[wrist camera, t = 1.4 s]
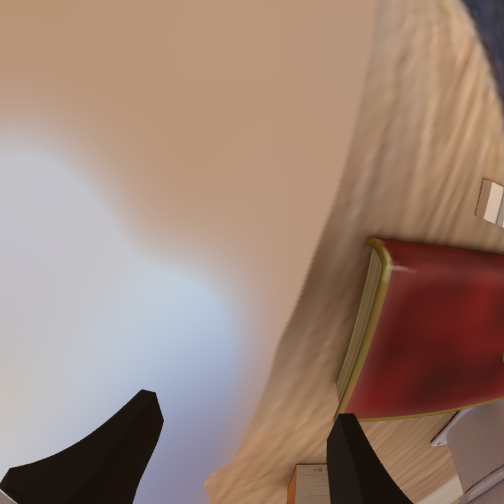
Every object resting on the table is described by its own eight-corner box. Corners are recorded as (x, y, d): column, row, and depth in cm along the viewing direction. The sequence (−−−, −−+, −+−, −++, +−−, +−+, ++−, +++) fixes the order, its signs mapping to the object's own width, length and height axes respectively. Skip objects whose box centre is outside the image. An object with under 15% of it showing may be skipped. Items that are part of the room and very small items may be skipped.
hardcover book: (366, 232, 16) (389, 258, 12) (556, 260, 14) (583, 279, 10) (329, 383, 20) (334, 425, 16) (511, 368, 18) (528, 393, 14)
